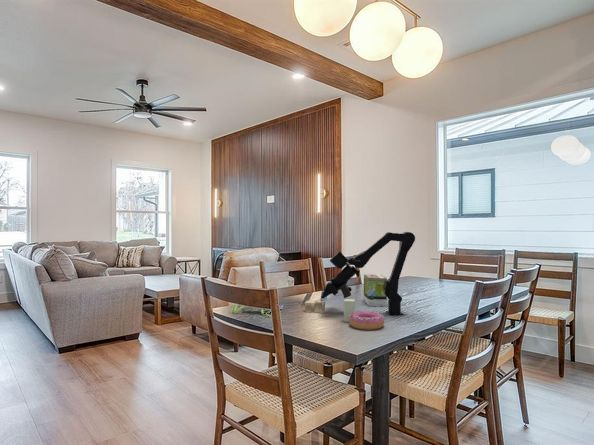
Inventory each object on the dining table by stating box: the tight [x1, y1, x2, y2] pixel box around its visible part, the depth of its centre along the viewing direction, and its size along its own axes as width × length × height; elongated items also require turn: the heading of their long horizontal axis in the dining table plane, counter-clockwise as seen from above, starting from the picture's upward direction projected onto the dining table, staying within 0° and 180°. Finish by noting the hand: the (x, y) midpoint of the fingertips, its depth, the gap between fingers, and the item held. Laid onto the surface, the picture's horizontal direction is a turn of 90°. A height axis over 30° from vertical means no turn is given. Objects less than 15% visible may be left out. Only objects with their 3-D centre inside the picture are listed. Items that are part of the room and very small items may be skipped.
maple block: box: [304, 300, 326, 314], centre depth 183 cm, size 4×4×9 cm
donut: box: [349, 310, 385, 331], centre depth 157 cm, size 14×14×5 cm
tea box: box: [363, 273, 388, 307], centre depth 201 cm, size 15×10×15 cm, turn 179°
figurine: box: [230, 303, 284, 316], centre depth 183 cm, size 18×27×6 cm
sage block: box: [343, 298, 356, 323], centre depth 165 cm, size 4×4×9 cm
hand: (321, 298), depth 182 cm, fingers closed
